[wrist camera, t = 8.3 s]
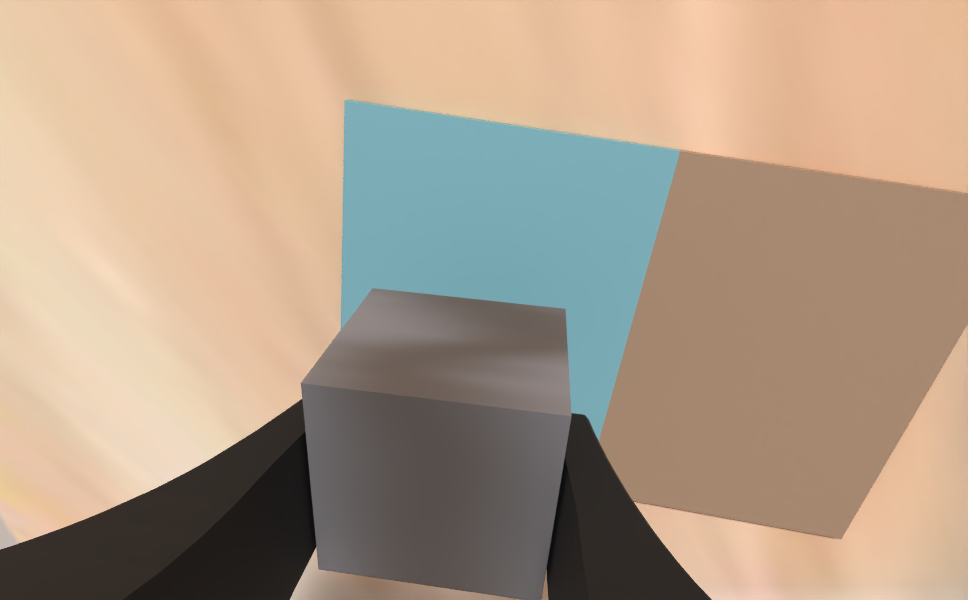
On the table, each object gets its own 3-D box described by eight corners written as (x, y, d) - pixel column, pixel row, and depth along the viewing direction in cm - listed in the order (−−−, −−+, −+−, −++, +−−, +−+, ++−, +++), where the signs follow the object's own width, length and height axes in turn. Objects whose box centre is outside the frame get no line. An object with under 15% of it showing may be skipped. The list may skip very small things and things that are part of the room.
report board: (1031, 203, 14) (1037, 204, 14) (838, 534, 19) (841, 539, 19) (347, 99, 15) (344, 100, 14) (340, 443, 20) (338, 447, 20)
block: (565, 308, 12) (571, 416, 9) (543, 461, 14) (541, 601, 11) (372, 288, 13) (301, 383, 9) (376, 440, 15) (318, 569, 11)
